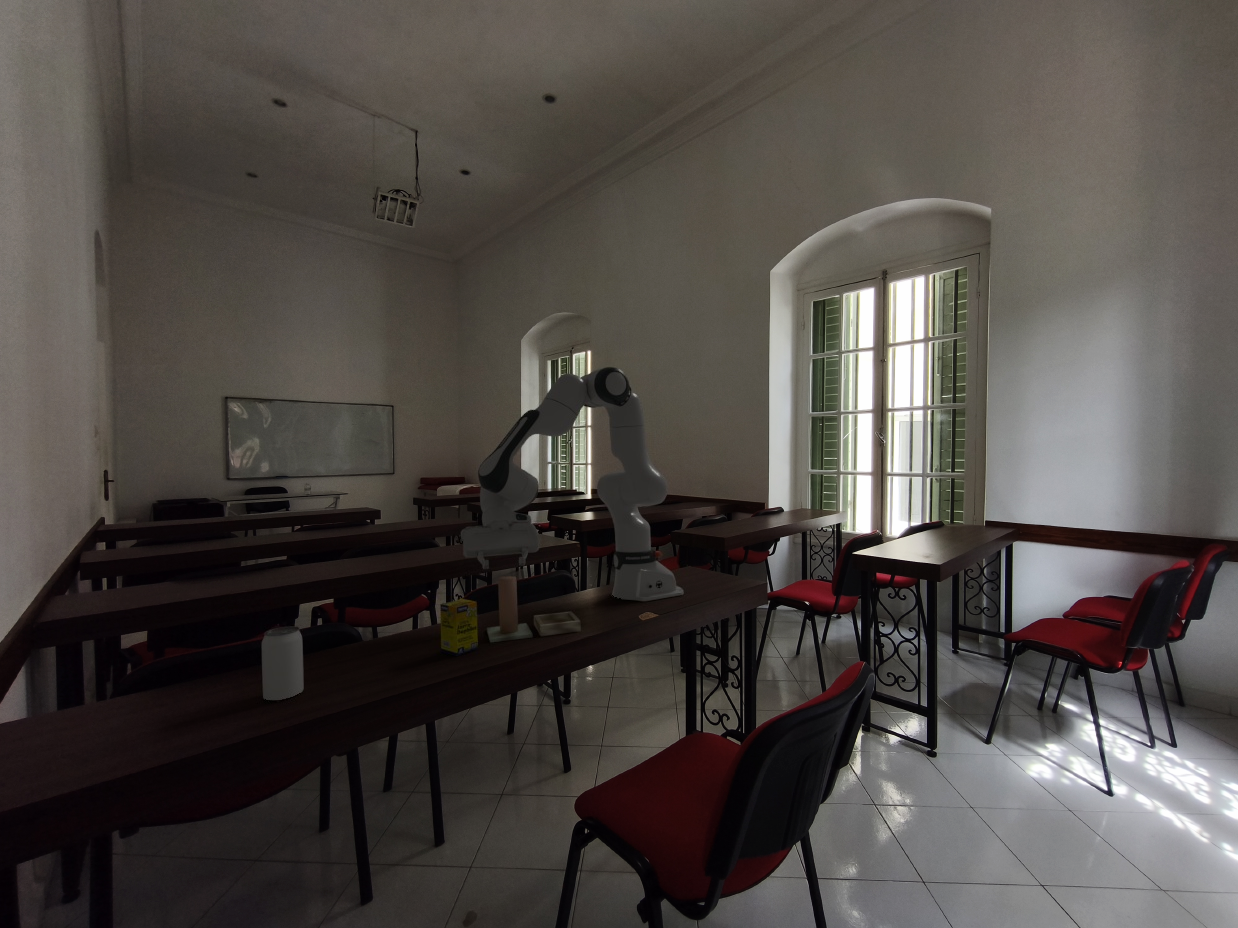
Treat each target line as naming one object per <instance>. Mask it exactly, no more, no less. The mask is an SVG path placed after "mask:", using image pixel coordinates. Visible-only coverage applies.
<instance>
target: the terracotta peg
mask: <svg viewBox="0 0 1238 928" xmlns="http://www.w3.org/2000/svg"><path fill="white" fill-rule="evenodd" d="M497 581H498V582H497V583H498V584H497V586H498V612H499V613H498V614H499V615H498V617H499V626H500V632H501V633H514V632H517V631H518V624H519V616H518V614H519V613H518V594H517V593H518V592H517V591H518V590H517V589H518V588H517V585H518V584H517V577H516V576H510V575H509V576H501V577H498V579H497Z"/></svg>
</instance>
